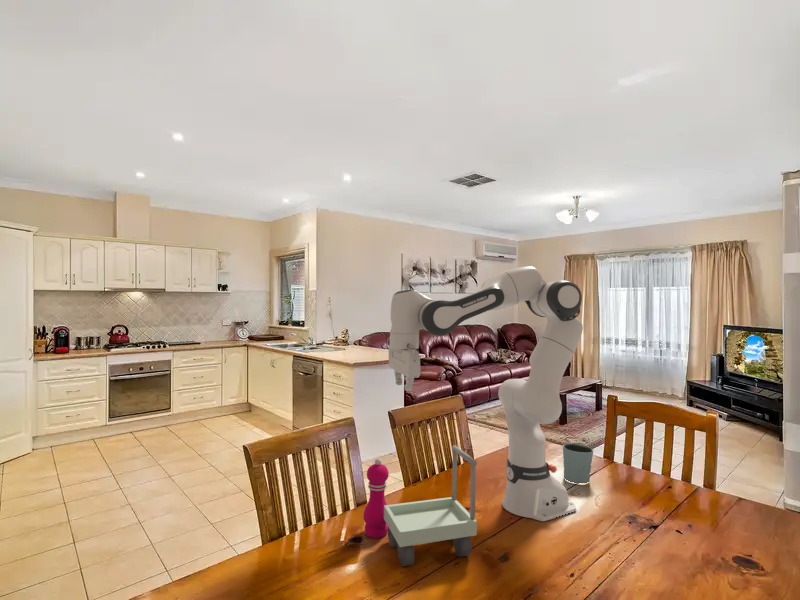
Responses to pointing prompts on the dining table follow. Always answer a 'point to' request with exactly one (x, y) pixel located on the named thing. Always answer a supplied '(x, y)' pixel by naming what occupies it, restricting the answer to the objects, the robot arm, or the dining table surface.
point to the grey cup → (577, 462)
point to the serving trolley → (433, 519)
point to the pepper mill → (376, 501)
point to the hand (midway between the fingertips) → (403, 387)
